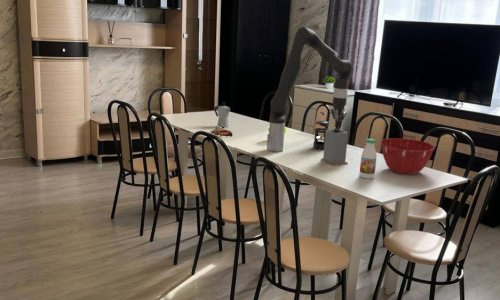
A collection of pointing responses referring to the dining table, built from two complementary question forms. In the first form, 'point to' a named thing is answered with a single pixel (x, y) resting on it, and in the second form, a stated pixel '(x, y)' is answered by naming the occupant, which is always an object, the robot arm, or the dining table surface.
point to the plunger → (336, 130)
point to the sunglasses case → (222, 132)
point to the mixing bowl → (406, 154)
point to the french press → (317, 143)
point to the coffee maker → (222, 115)
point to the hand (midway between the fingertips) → (337, 127)
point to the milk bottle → (368, 160)
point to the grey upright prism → (335, 147)
